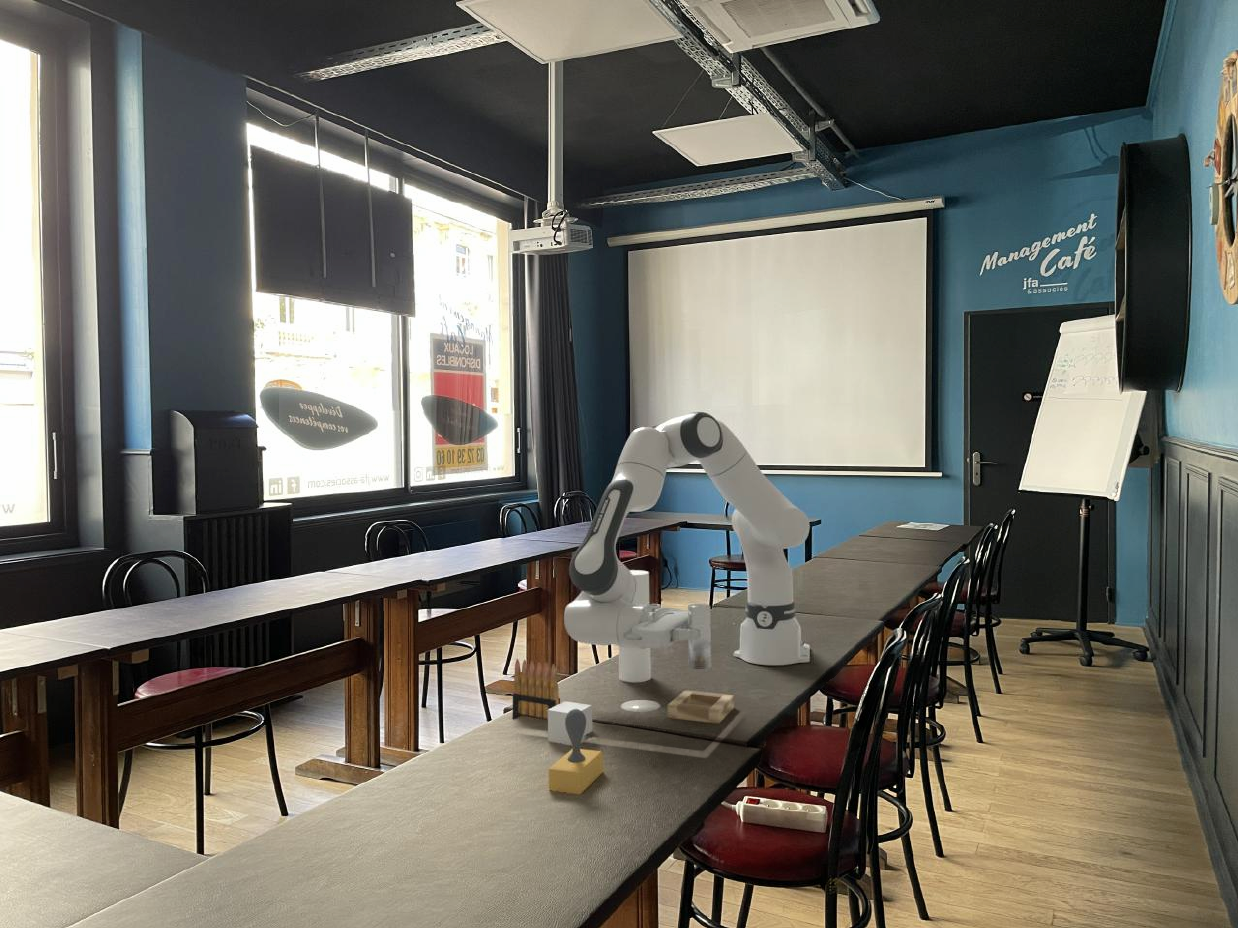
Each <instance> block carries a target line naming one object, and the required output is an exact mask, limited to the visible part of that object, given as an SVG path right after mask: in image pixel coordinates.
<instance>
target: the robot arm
mask: <svg viewBox="0 0 1238 928" xmlns="http://www.w3.org/2000/svg"><path fill="white" fill-rule="evenodd" d="M696 461H698V462H699V463H700V465H701V467H702V468H703V471H704V473H706V475H707V476H708V477H709V479H710V481H711V482H712V484H713V485H714V486H715V488H716V489H717V491H718V492H719V494H720V495H721V496H722V498H723V499H724V500H725V501H726V502H727V503H728V504H729V505H731V506H732V507H733V508H734V510H733V512H732V515H731V525H732V526H731V527H732V529H733V531H734V533H735V534H736V536H737V538H738V540H739V543H740V547H741V551H742V554H743V558H744V563H745V568H746V583H747V601H746V602H745V616H746V618H745V620H744V621H743V622H742V623H741V624H740V630H739V649H737V650H735V651H734V652H733V657H735V658H739V659H741V660H743V661H745V662H747V663H750V664H755V665H759V666H760V665H762V666H788V665H793V664H799V663H802V664H803V663H809V662H810V660H811V656H810V654H811V647H810V646H811V645H809V644H807V643H805V641H804V640H802V632H801V631H802V630H801V629H802V628H801V626H800V624H799V621H798V620H797V618H796V615H797V614H796V613H797V612H796V611H797V610H796V609H797V608H796V601H795V599H794V583H793V581H794V578H793V577H794V575H793V573H794V572H793V570H792V567H791V565H790V564H789V563H788V560H787V558H786V556H785V552H784V550H785V549H792V548H797V547H799V546H801V545H802V544H804V543H805V541H806V540H807V538H808V537H809V533H810V528H811V527H810V520H809V518H808V515H806V513H805V512H804V511H803V510H801V509H800V508H798V507H797V506H796V505H795V504H794V503H792V502H791V501H790V500H789V499H788V498H787V497H786V496H785V495H784V494H783V493H782V491H780V490H779V489H778V488H777V487H776V486H775V485H774V483H772V482H771V481H770V480H769V478H767V477H766V475H765V474H764V473H763V472H762V471H761V469H760V468H759V466H758V464H757V463H756V462H755V461H754V459H753V457H752V456H751V454H750V453H749V451H747V449H746V448H745V446H744V445H743V443H742V442H741V441H740V439H739V438H738V437H737V436H736V435H735V433H733V431H731V429H730V428H729V427H728V426H727V425H726V424H725V423H724V422H723V421H720V420H717V419H716V418H715V417H714V416H713V415H711V414H709V413H707V412H705V411H695V412H694V411H693V412H689V413H687V414H684V415H680V416H677V417H672V418H670V419H669V420H666V421H665V422H662V423H661V424H658V425H655V426H652V427H648V426H642V427H639V428H636V429H633V431H632V432H631V433H630V435H629V436H628V438H627V440H626V441H625V444H624V446H623V449H622V451H621V453H620V456H619V458H618V461H617V464H616V468H615V470H614V475H613V477H612V480H611V482H610V483H609V484H608V485H607V487H606V488H605V490H604V492H603V494H602V496H601V498H600V500H599V503H598V505H597V508H596V511H595V513H594V515H593V518H592V521H591V523H590V526H589V528H588V531H587V533H586V534H585V537H584V539H583V540H582V542H581V543H580V545H579V547H578V548H576V550H575V552H574V554H573V555H572V557H571V559H570V561H569V566H568V574H569V577H570V580H571V582H572V584H573V585H574V586H575V587H576V588H577V589H579V590H580V591H581V592H580V593H579V595H578V596H577V597H576V598H575V599H574V600H572V601H571V602H570V603H568V604H567V605H566V606H565V608H564V613H563V625H564V628H565V631H566V633H567V634H568V635H569V636H570V638H571V639H572V640H574V641H576V642H579V643H583V644H588V645H596V646H603V647H604V646H609V645H610V646H611V645H615V646H617V647H619V646H620V647H626V648H637V649H646V648H650V649H653V650H654V649H655V650H665V649H666V648H668V647H670V646H671V645H672V644H674V643H676V642H677V641H678V642H679V641H687V640H689V639H691V640H697V639H698V638H700V630H699V629H688V609H681V608H674V607H665V606H664V607H661V604H658V603H649V605H640V604H632V601H633V598H634V594H635V591H636V581H635V578H634V576H633V575H632V573H631V572H630V571H629V570H630V569H629V568H628V567H627V566H626V565H625V564H624V563H623V562H621V560H619V558H618V555H617V549H616V546H617V545H616V544H617V542H618V539H619V537H620V533H621V531H622V528H623V525H624V523H625V520H626V517H627V516H628V514H629V513H630V512H632V513H633V512H634V513H640V512H644V511H645V512H646V511H647V510H650V509H652V508H653V507H654V506H655V505H656V504H657V502H658V500H659V498H660V496H661V493H662V490H663V487H664V484H665V479H666V475H667V470H669V469H671V468H676V467H677V468H678V467H682V466H686V465H689V464H690V463H693V462H696Z"/></svg>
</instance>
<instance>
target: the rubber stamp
mask: <svg viewBox="0 0 1238 928" xmlns="http://www.w3.org/2000/svg"><path fill="white" fill-rule="evenodd" d="M565 726H566V730H567V733H568V735H569V738H570V740H571V743H572V746H571V747H572V748H571V749H570V750H569V751H568V752H567V753H566V754H564V755H563V756H562V757H561V758H560V759H558V760H557V761H556V762H555V763H554V764H553V765H551V766H550V767H549V768H548V790H549V791H550V790H552V791H551V792H556V791H559V793H564V792H566V793H565V794H572V793H573V794H574V795H578V796H579V795H581V794H583V792H584V791H585V790H587V788H588V787H589V786H590V785H592V783H593V782H595V781H596V779H598V778H599V776H601V775H602V773H604V753H603V751H601V750H593V749H592V750H591V749H583V748H581V744H582V743H581V740H582V737H583V734H584V731H585V728H586V717H585V714H584V713H583V712H582V711H581V710H579V709H573V710H571V711H569V712H568V714H567V716H566V719H565ZM573 794H572V795H573Z"/></svg>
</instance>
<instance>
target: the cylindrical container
mask: <svg viewBox="0 0 1238 928" xmlns="http://www.w3.org/2000/svg"><path fill="white" fill-rule="evenodd" d="M628 570H629V571H630V572H631V573H632V575H633V576H634V578H635V581H636V591H635V594H634V598H633V601H632V604H640V605H649V604H650V572H649V571H646V570H640V569H639V570H638V569H637V570H635V569H631V570H630V569H628ZM651 665H652V664H651V648H646V649H637V648H626V647H620V646H618V672H619V673H618V677H619V680H621V681H622V682H626V683H643V682H647V681H650V680H651V679H652V677H651V676H652V675H651V673H652V670H651Z"/></svg>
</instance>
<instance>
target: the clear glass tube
mask: <svg viewBox="0 0 1238 928" xmlns="http://www.w3.org/2000/svg"><path fill="white" fill-rule="evenodd" d="M687 610H688V629H699V630H700V638H698V639H697V640H691V639H689V640H688V647H687V648H688V667H689V668H691V669H694V670H705V669H710V668H711V667H712V649H711V648H712V645H711V644H712V643H711V642H712V639H711V638H712V637H711V635H712V632H711V631H712V630H711V625H712V624H711V605H709V604H708V603H707V604H706V603H692V604H689V605H688V606H687Z"/></svg>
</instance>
